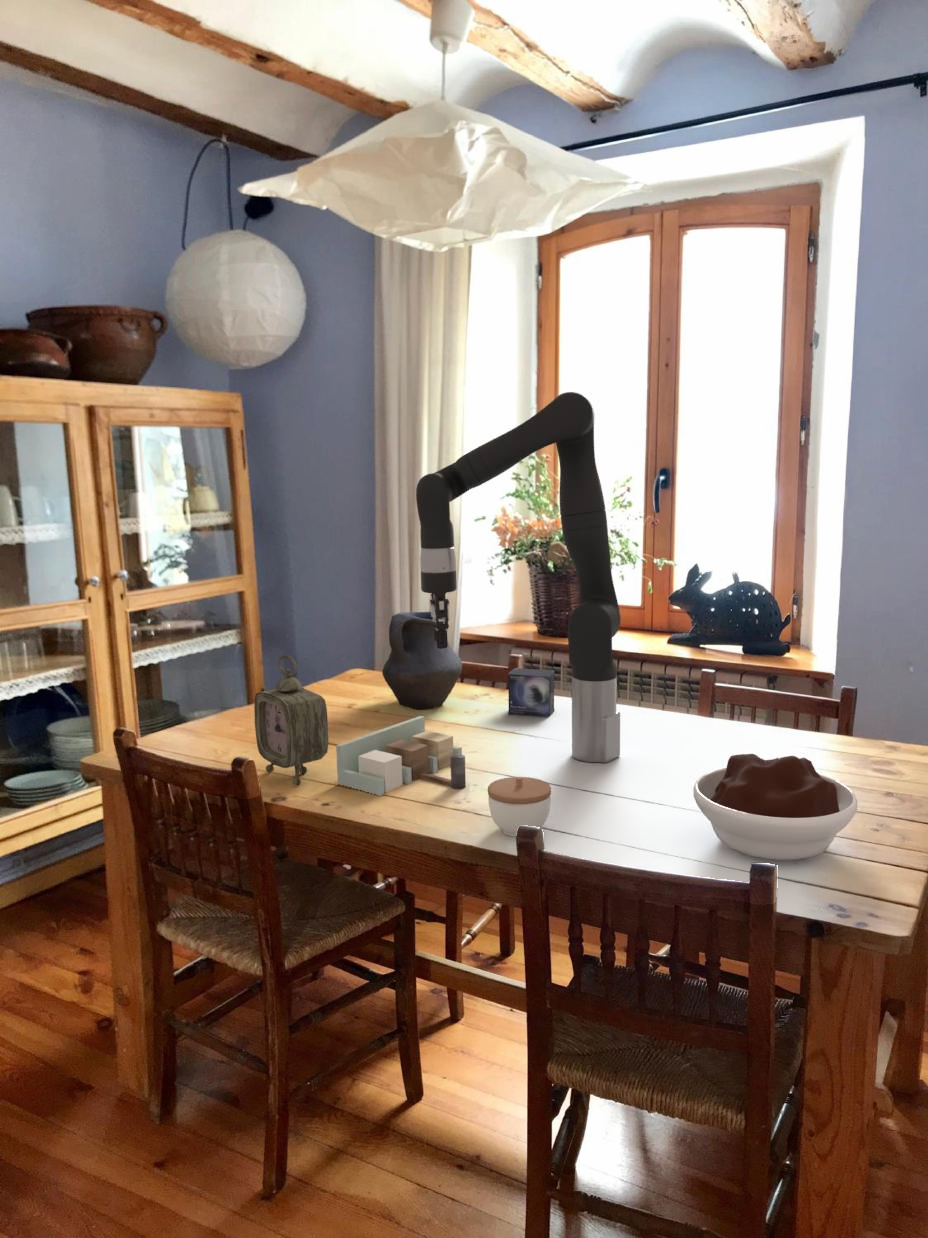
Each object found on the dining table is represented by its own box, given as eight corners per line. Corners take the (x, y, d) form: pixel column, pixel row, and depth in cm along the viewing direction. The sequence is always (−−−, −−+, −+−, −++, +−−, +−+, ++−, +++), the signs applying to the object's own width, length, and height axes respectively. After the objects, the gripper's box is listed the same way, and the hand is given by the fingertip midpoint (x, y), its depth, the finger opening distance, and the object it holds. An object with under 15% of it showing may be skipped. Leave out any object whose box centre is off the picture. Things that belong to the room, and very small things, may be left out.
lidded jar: (513, 814, 171) (512, 763, 169) (563, 828, 164) (563, 775, 163) (475, 833, 163) (474, 780, 161) (526, 848, 156) (526, 793, 155)
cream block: (402, 785, 187) (401, 756, 186) (385, 792, 183) (384, 762, 182) (376, 778, 191) (375, 750, 190) (359, 785, 188) (358, 756, 186)
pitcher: (478, 700, 249) (476, 606, 245) (431, 721, 231) (428, 619, 227) (413, 691, 260) (410, 600, 256) (363, 710, 242) (360, 613, 238)
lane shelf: (461, 761, 201) (461, 724, 199) (379, 796, 181) (378, 755, 180) (421, 751, 208) (420, 716, 206) (337, 784, 188) (336, 745, 187)
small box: (507, 715, 235) (506, 673, 233) (513, 708, 241) (513, 667, 240) (549, 717, 232) (549, 675, 230) (555, 710, 238) (554, 669, 237)
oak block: (453, 764, 199) (452, 736, 198) (438, 770, 196) (438, 741, 195) (427, 758, 204) (427, 730, 203) (412, 764, 200) (412, 736, 199)
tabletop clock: (257, 772, 196) (250, 653, 192) (296, 762, 202) (290, 646, 198) (293, 790, 185) (287, 664, 181) (333, 779, 191) (328, 657, 187)
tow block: (471, 784, 187) (471, 754, 186) (456, 791, 183) (455, 761, 182) (402, 767, 197) (401, 739, 196) (386, 774, 194) (385, 745, 193)
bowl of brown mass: (790, 896, 138) (794, 796, 135) (660, 841, 158) (661, 753, 155) (886, 851, 152) (892, 760, 150) (756, 806, 172) (758, 725, 170)
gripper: (458, 572, 195) (461, 650, 198) (453, 564, 209) (455, 637, 212) (422, 573, 194) (425, 652, 197) (418, 565, 208) (421, 639, 211)
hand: (440, 644), depth 204 cm, fingers open, 8 cm apart
